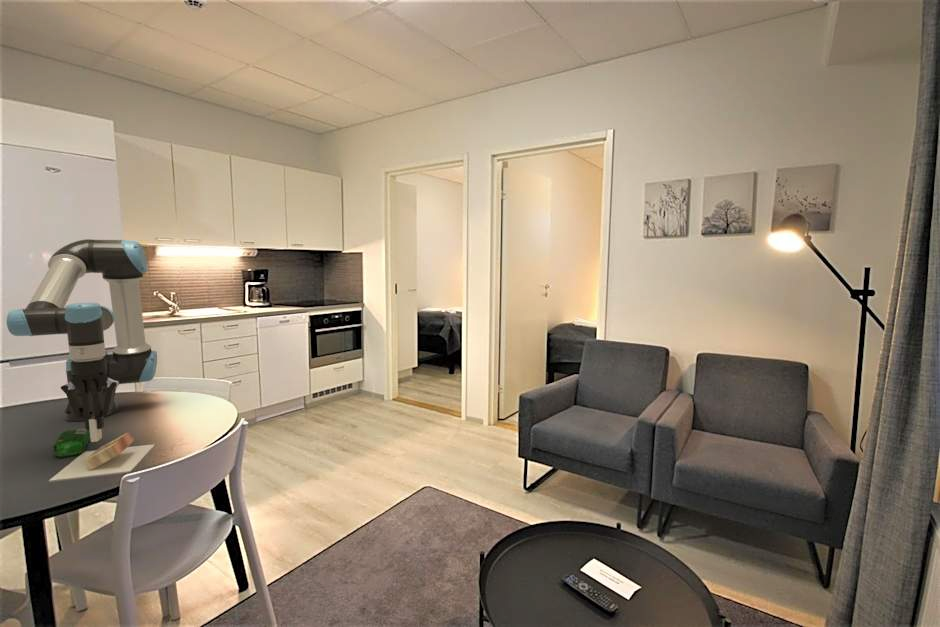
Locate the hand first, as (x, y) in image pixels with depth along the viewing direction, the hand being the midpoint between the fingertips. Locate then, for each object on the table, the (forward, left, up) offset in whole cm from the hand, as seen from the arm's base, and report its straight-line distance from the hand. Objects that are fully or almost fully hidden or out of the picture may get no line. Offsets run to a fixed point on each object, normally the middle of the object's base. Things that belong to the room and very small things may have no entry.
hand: (96, 439), depth 124 cm
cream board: (0, +2, -7) cm, 7 cm away
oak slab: (0, 0, -5) cm, 5 cm away
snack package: (-13, -12, -7) cm, 19 cm away
